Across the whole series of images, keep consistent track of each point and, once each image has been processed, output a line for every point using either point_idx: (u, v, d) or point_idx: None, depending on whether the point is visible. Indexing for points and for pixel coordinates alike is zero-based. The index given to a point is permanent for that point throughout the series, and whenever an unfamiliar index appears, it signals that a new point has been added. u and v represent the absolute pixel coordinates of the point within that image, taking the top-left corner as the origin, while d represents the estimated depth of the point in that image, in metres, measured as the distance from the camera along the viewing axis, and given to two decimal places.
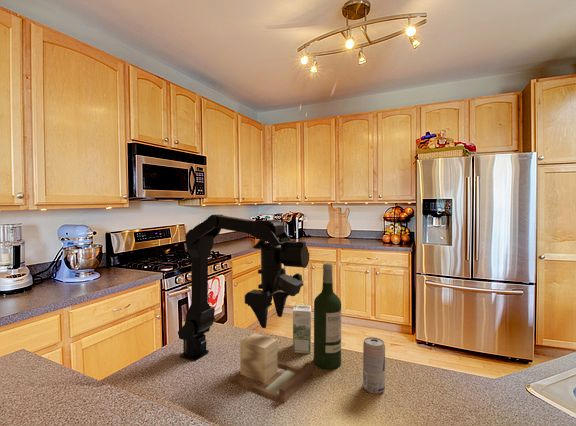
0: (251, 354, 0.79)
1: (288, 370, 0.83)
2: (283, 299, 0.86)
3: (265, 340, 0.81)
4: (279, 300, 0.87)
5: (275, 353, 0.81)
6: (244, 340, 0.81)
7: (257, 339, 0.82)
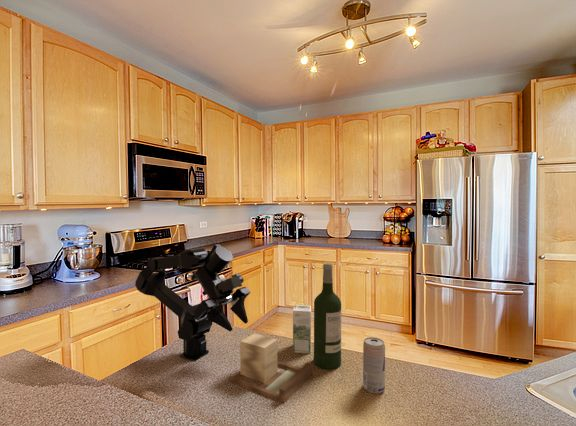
0: (251, 354, 0.79)
1: (288, 370, 0.83)
2: (240, 306, 0.89)
3: (265, 340, 0.81)
4: (238, 309, 0.90)
5: (275, 353, 0.81)
6: (244, 340, 0.81)
7: (257, 339, 0.82)
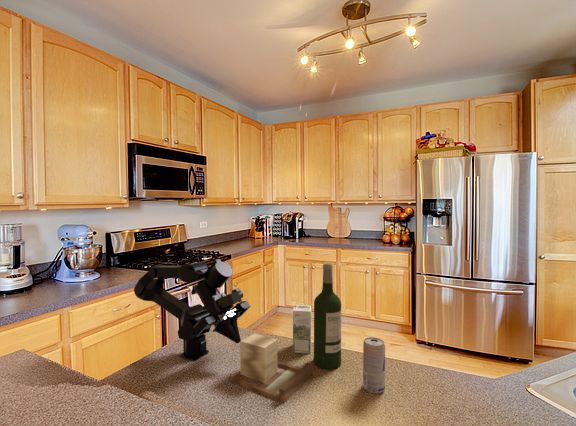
0: (251, 354, 0.79)
1: (288, 370, 0.83)
2: (233, 324, 0.87)
3: (265, 340, 0.81)
4: None
5: (275, 353, 0.81)
6: (244, 340, 0.81)
7: (257, 339, 0.82)
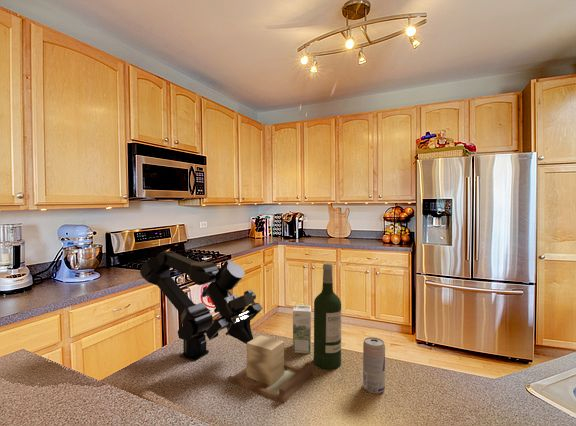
0: (258, 356, 0.78)
1: (288, 370, 0.83)
2: (246, 327, 0.84)
3: (272, 342, 0.80)
4: None
5: (282, 355, 0.80)
6: (250, 342, 0.80)
7: (263, 341, 0.81)
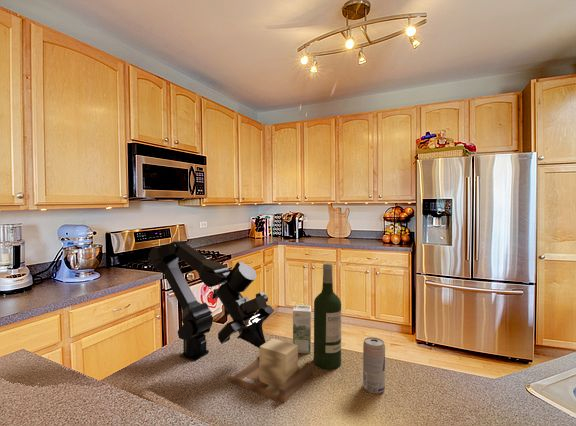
0: (271, 361, 0.75)
1: None
2: (258, 330, 0.82)
3: (285, 346, 0.78)
4: None
5: (296, 359, 0.78)
6: (263, 345, 0.78)
7: (276, 345, 0.78)
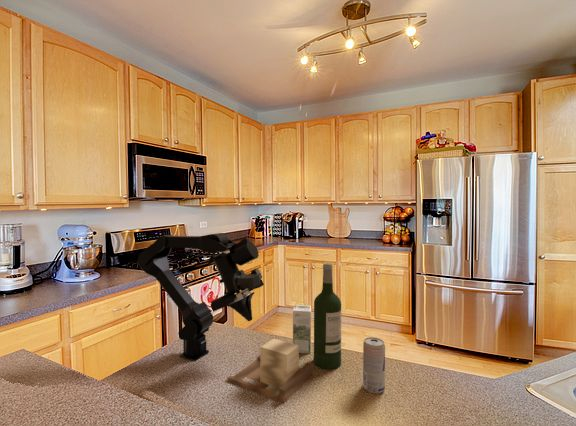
0: (272, 361, 0.75)
1: None
2: (247, 302, 0.89)
3: (286, 346, 0.77)
4: None
5: (297, 360, 0.77)
6: (264, 346, 0.78)
7: (277, 345, 0.78)
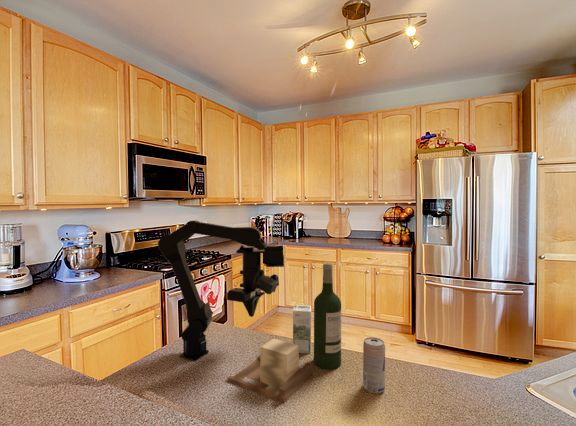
0: (272, 361, 0.75)
1: None
2: (255, 300, 0.95)
3: (286, 346, 0.77)
4: None
5: (297, 360, 0.77)
6: (264, 346, 0.78)
7: (277, 345, 0.78)
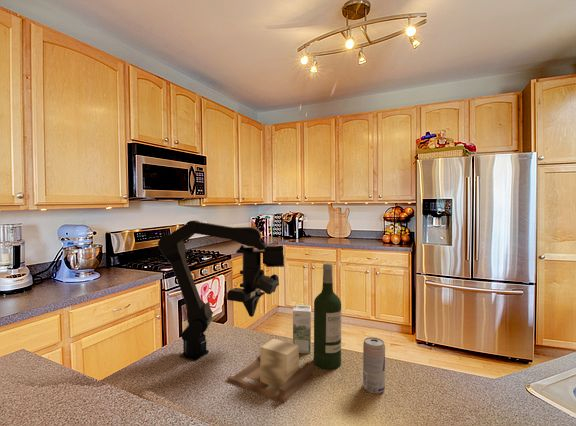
0: (272, 361, 0.75)
1: None
2: (255, 300, 0.95)
3: (286, 346, 0.77)
4: None
5: (297, 360, 0.77)
6: (264, 346, 0.78)
7: (277, 345, 0.78)
